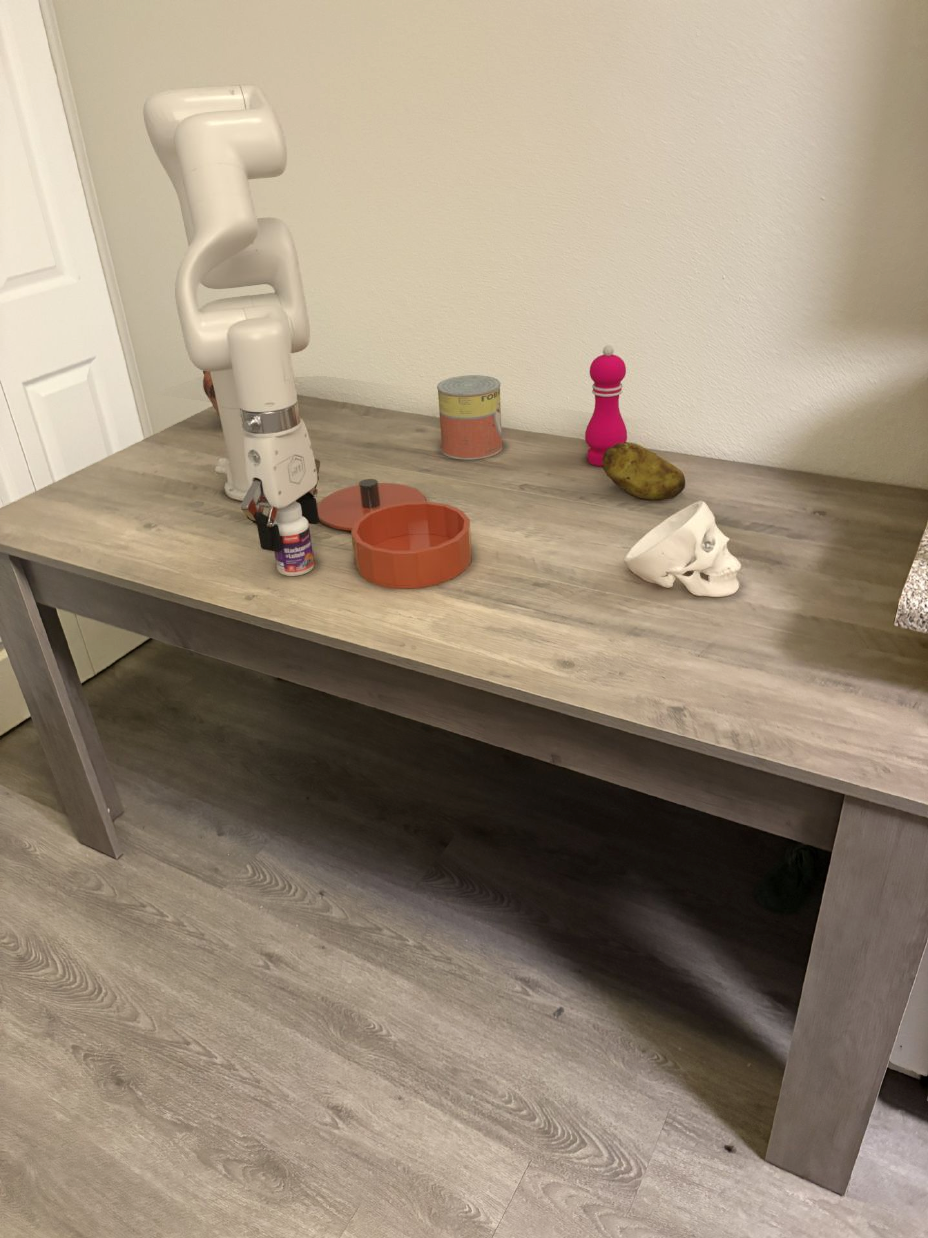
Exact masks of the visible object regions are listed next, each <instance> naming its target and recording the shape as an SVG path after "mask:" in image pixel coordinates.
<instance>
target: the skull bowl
mask: <svg viewBox="0 0 928 1238" xmlns="http://www.w3.org/2000/svg"><path fill="white" fill-rule="evenodd" d="M729 540H730V538H729V537H728V536H726V535H725V533H724V532H722V531H721V530H720V529H719V528H718V526H717V524H716V517H715V515H714V513H713V512H712V511H711V508H710V507H709V505H708V504H707V503H706V502H705V501H703V500H698V501H695V502H694V503H692V504H690V505H688V506H686V507H684V508H682V509H680V510H678V511H676V512H675V513H673V514H672V515H669V516H668V517H667V518H666V519H664V520H662V521H661V522H660V523H658V524H657V525H656V526H654V527H653V528H652V529H651V530H649V531H648V532H647V533H646V534H644V535H643V536H642V537H640V539H639V540H637V541H636V542H635V543H634V544H633V545H632V546H631V547H630V548H629V550H628V551H627V552H626V554H625V556H624V557H623V562H624V564H625V566H627V568H628V569H629V570H630V572H631V573H633V574H635V575H636V576H638V577H639V578H640V579H642V580H643V581H646V582H647V583H651V584H656V585H658V586H660V587H663V588H667V589H670V588H673V587H674V583H675V581H676V580H677V579H678V580H679V581H680V582H681V583H682V584H683V585H684V586H685V588H686V589H687V591H688V592H689V593H691V594H692V595H694V596H698V597H711V598H724V597H728V596H732V595H734V594H736V592H738V590H739V588H740V582H739V580H738V578H737V575H738V573H739V571H740V570H741V568H742V564H741V562H740V561H739V560H738V558H737V557H736V556H734V555H732V553H731V552H730V551H729V549H728V542H729ZM689 571H693V573H692V574H691V575H689V576H687V575H684V574H685V573H687V572H689ZM701 574H704V575H706V576H707V577H708V580H706V579H704V578H702V577H701Z"/></svg>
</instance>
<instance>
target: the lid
mask: <svg viewBox="0 0 928 1238" xmlns="http://www.w3.org/2000/svg"><path fill="white" fill-rule="evenodd" d="M404 502H427V500H426V497H425V495H424V494H423V493H422V492H421V491H420V490H418V489H416V488H415V487H411V486H409V485H406V484H400V483H395V482H394V483H393V482H379V481H378V480H377V479H374V478H365V479H362V480H360V481H359V483H358V484H357V485H351V486H348V487H344V488H341V489H339V490H335V491H334V492H332V493H329V494H328V495H326V496H325V497H324V498H322V500H320V501H319V502H318V504H317V510H318V516H319V522H322V523H323V524H324V525H326V526H328V527H330V528H333V529H336V530H337V529H338V530H343V531H349V532H352V529H353V526H354V523H355V522H356V521H357V520H359V519H360V518H361V517H362V516H364V515H365V514H366V513H369V512H371V511H374V510H376V509H379V508H381V507H384V506H389V505H394V504H399V503H404Z"/></svg>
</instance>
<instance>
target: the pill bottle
mask: <svg viewBox="0 0 928 1238" xmlns="http://www.w3.org/2000/svg"><path fill="white" fill-rule="evenodd" d="M274 524H278V527H279V533H280V539H281V544H282V550H281V551H280V552H274V551H273V553H274V558H275V564H276V569H277V572H279V573H280V574H281V575H283V576H288V577H297V576H298V577H299V576H302V575H305V574H307V573H308V574H309V572H311V571H312V570H313V569H314V568H315V557H314V550H313V544H312V537H311V529H310V524H309V523H308V520H307V519H306V518H305V517H303V516H302V510H301V505H300V503H298V502H296V501H294V502H293V503H291V504H290V505H288V506H286V507H285V508H282V509H277V513H276V518H275V522H274Z"/></svg>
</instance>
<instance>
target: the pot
mask: <svg viewBox="0 0 928 1238" xmlns="http://www.w3.org/2000/svg"><path fill="white" fill-rule="evenodd" d="M471 532H472V531H471V519H470V518H469V517H468V516H467V514H466V513H465V512H464V511H463V510H462V509H459V508H457V507H454V506H452V505H449V504H445V503H440V502H432V501H426V502H404V503H399V504H394V505H389V506H384V507H381V508H379V509H376V510H374V511H371V512H369V513H366V514H365V515H364V516H362V517H361V518H360V519H359V520H357V521H356V522H355V523H354V526H353V529H352V531H350V536H351V543H352V550H353V559H354V564H355V566H356V569H357V571H358V574H359V575H360V576H361V577H362V578H363V579H364V580H366V581H368V582H370V583H372V584H374V585H378V586H380V587H385V588H391V589H419V588H427V587H431V586H436V585H440V584H443V583H446V582H449V581H451V580H452V579H454V578H456V577H458V576H459V575H461V574H463V572H464V571H466V570H467V568H468V567H469V566H470V564H471V561H472V549H473V548H472V535H471V534H472V533H471Z"/></svg>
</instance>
